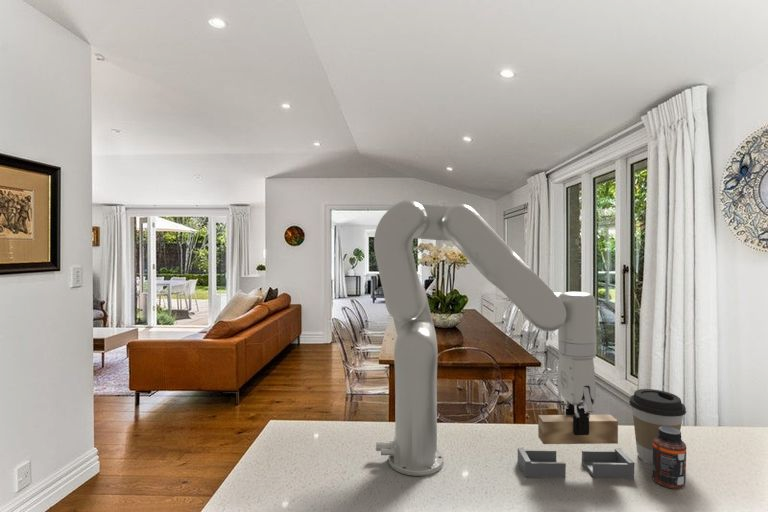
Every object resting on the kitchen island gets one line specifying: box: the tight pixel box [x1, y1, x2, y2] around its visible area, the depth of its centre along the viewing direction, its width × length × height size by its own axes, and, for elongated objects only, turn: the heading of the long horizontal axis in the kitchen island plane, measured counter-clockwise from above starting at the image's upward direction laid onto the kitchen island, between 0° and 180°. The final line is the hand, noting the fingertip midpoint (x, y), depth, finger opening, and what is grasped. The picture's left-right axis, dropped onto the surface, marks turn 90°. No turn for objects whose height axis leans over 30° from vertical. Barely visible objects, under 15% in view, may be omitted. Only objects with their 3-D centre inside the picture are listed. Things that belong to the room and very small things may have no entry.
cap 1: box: [517, 447, 567, 478], centre depth 99 cm, size 9×6×3 cm
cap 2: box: [581, 448, 636, 479], centre depth 98 cm, size 9×6×3 cm
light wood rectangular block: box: [537, 414, 619, 445], centre depth 98 cm, size 16×4×5 cm, turn 88°
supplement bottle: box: [651, 426, 687, 490], centre depth 93 cm, size 6×6×11 cm
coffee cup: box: [628, 388, 687, 465], centre depth 103 cm, size 11×11×15 cm
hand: (577, 429), depth 98 cm, fingers closed on light wood rectangular block, 3 cm apart
